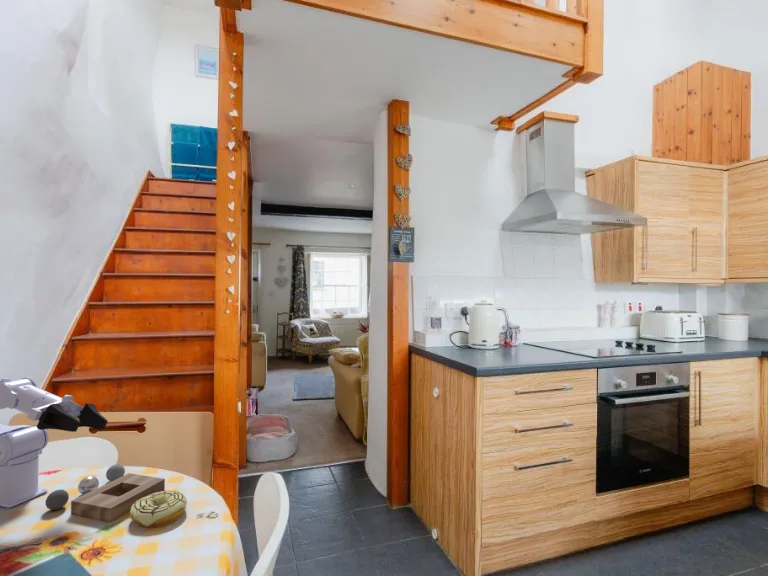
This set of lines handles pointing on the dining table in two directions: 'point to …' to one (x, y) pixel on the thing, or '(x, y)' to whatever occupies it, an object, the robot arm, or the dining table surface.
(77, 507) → the hole plate
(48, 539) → the dining table surface
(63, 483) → the dining table surface
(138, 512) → the decorated donut
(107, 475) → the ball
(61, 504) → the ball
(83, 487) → the steel ball
